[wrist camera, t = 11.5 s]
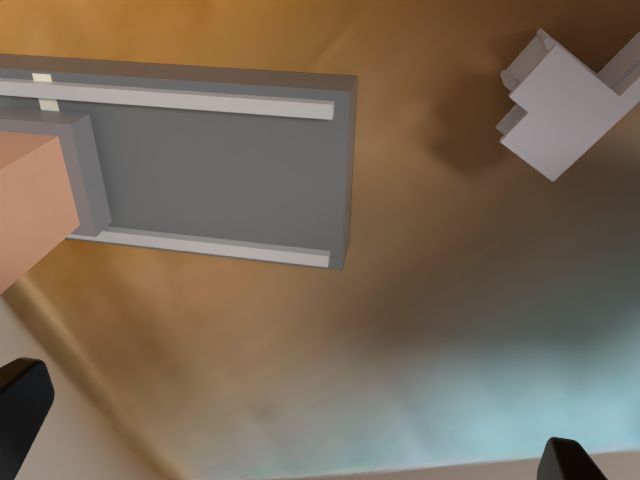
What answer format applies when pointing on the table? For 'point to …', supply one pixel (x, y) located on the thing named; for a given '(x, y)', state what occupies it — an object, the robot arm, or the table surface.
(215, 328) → the table surface
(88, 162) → the fader
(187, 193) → the grey slider rail base
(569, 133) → the door handle
